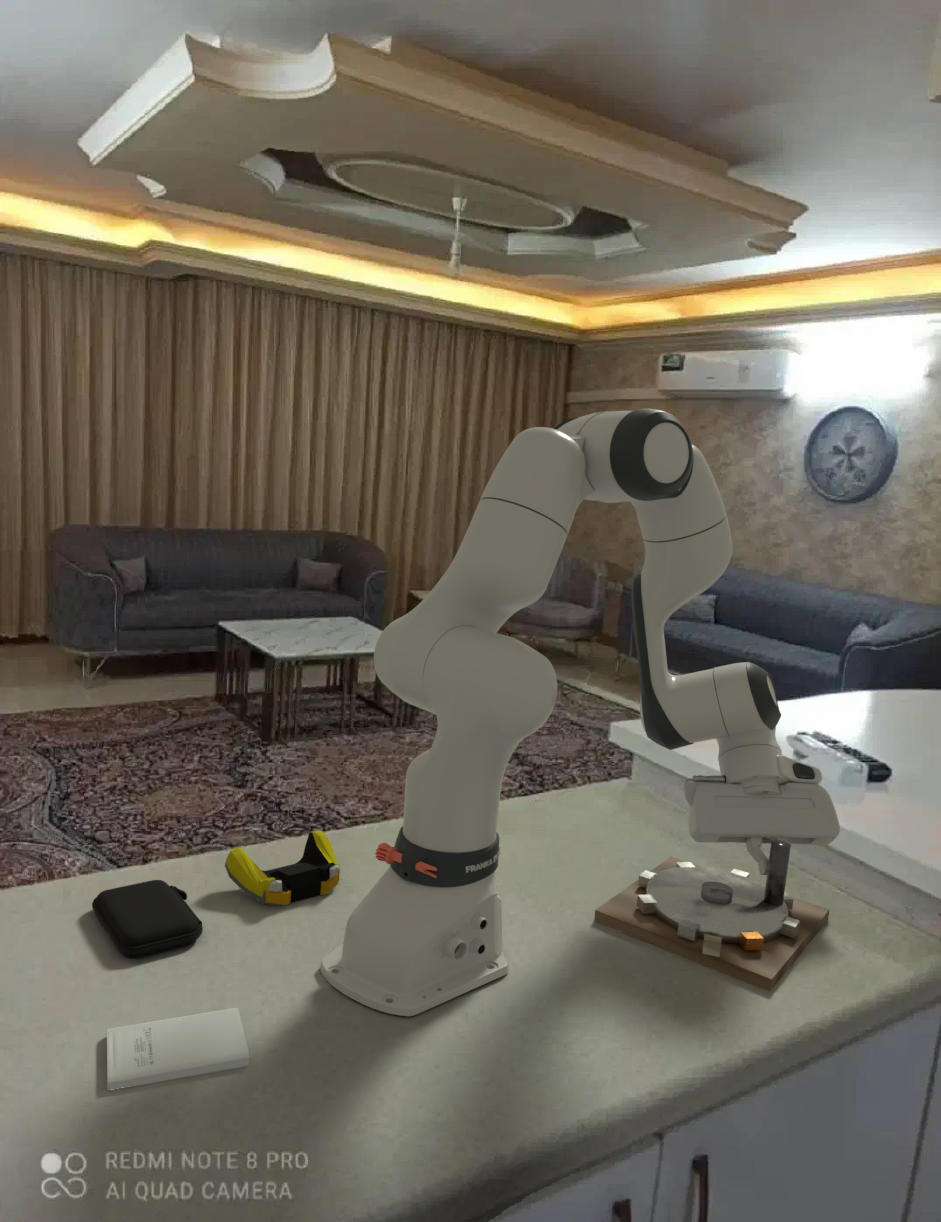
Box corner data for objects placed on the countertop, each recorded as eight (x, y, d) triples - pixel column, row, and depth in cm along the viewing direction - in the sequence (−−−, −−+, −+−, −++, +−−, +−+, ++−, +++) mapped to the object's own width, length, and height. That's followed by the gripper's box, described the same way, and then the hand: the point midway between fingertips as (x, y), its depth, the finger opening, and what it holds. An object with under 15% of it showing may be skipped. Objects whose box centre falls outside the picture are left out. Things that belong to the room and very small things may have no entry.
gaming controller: (219, 886, 120) (253, 918, 113) (220, 846, 119) (254, 876, 112) (320, 861, 130) (357, 889, 122) (321, 824, 129) (359, 851, 121)
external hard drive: (249, 1070, 86) (107, 1096, 81) (237, 1019, 93) (106, 1040, 88) (249, 1055, 85) (107, 1080, 81) (237, 1005, 93) (106, 1025, 88)
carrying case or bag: (216, 944, 107) (174, 892, 118) (217, 920, 106) (175, 870, 118) (122, 969, 100) (88, 911, 112) (123, 943, 100) (88, 888, 111)
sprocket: (727, 965, 106) (737, 889, 104) (604, 892, 122) (611, 825, 121) (829, 923, 118) (839, 854, 116) (705, 861, 134) (712, 800, 133)
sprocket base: (769, 992, 104) (772, 965, 104) (593, 921, 118) (595, 897, 117) (828, 919, 123) (831, 897, 122) (670, 865, 136) (672, 845, 136)
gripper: (688, 765, 125) (704, 865, 117) (831, 769, 127) (856, 867, 119) (675, 783, 130) (689, 880, 123) (813, 787, 132) (835, 882, 124)
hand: (773, 874), depth 121 cm, fingers closed, pressing on sprocket
